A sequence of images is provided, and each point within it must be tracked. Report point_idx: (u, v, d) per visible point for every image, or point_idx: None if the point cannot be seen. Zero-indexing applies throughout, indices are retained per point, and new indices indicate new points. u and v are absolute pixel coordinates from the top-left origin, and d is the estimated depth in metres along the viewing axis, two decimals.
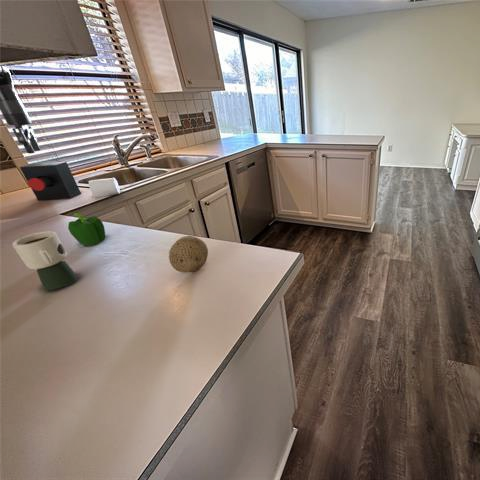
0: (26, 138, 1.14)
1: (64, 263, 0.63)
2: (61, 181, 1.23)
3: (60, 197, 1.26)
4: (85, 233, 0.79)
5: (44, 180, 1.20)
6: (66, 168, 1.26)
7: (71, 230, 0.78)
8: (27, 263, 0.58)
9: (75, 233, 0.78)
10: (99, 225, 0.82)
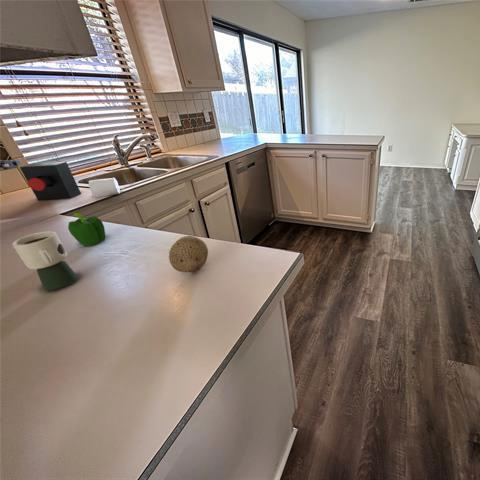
0: None
1: (64, 263, 0.63)
2: (61, 181, 1.23)
3: (60, 197, 1.26)
4: (85, 233, 0.79)
5: (44, 180, 1.20)
6: (66, 168, 1.26)
7: (71, 230, 0.78)
8: (27, 263, 0.58)
9: (75, 233, 0.78)
10: (99, 225, 0.82)
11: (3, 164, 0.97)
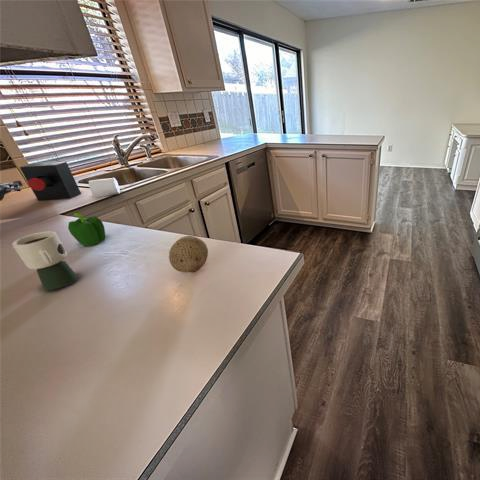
0: None
1: (64, 263, 0.63)
2: (61, 181, 1.23)
3: (60, 197, 1.26)
4: (85, 233, 0.79)
5: (44, 180, 1.20)
6: (66, 168, 1.26)
7: (71, 230, 0.78)
8: (27, 263, 0.58)
9: (75, 233, 0.78)
10: (99, 225, 0.82)
11: (18, 186, 1.02)
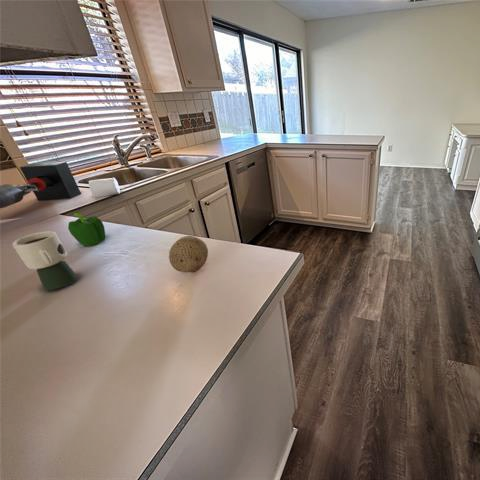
0: None
1: (64, 263, 0.63)
2: (61, 181, 1.23)
3: (60, 197, 1.26)
4: (85, 233, 0.79)
5: (44, 180, 1.20)
6: (66, 168, 1.26)
7: (71, 230, 0.78)
8: (27, 263, 0.58)
9: (75, 233, 0.78)
10: (99, 225, 0.82)
11: (35, 188, 1.10)
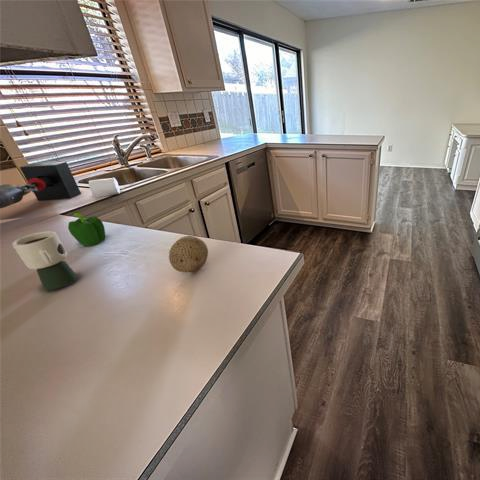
0: None
1: (64, 263, 0.63)
2: (61, 181, 1.23)
3: (60, 197, 1.26)
4: (85, 233, 0.79)
5: (44, 180, 1.20)
6: (66, 168, 1.26)
7: (71, 230, 0.78)
8: (27, 263, 0.58)
9: (75, 233, 0.78)
10: (99, 225, 0.82)
11: (35, 188, 1.10)
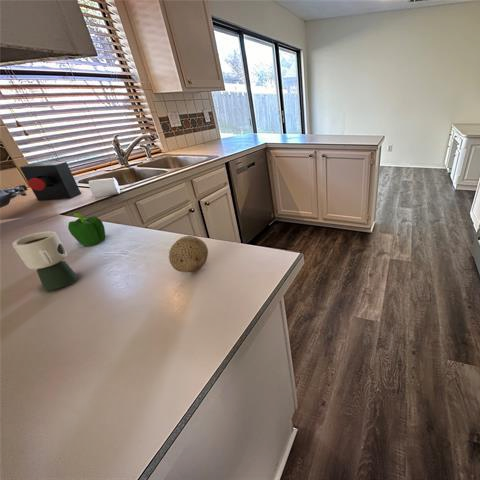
0: None
1: (64, 263, 0.63)
2: (61, 181, 1.23)
3: (60, 197, 1.26)
4: (85, 233, 0.79)
5: (44, 180, 1.20)
6: (66, 168, 1.26)
7: (71, 230, 0.78)
8: (27, 263, 0.58)
9: (75, 233, 0.78)
10: (99, 225, 0.82)
11: (23, 191, 1.04)
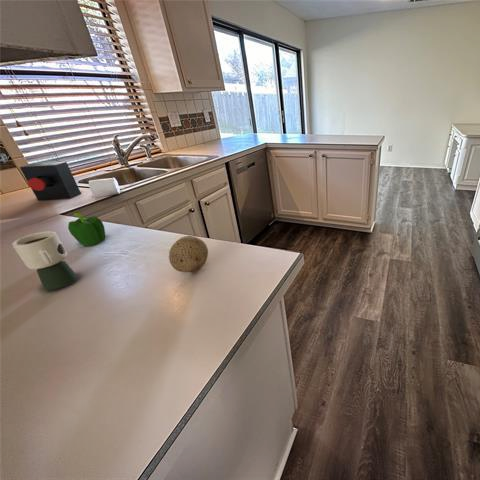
0: None
1: (64, 263, 0.63)
2: (61, 181, 1.23)
3: (60, 197, 1.26)
4: (85, 233, 0.79)
5: (44, 180, 1.20)
6: (66, 168, 1.26)
7: (71, 230, 0.78)
8: (27, 263, 0.58)
9: (75, 233, 0.78)
10: (99, 225, 0.82)
11: (2, 158, 0.98)
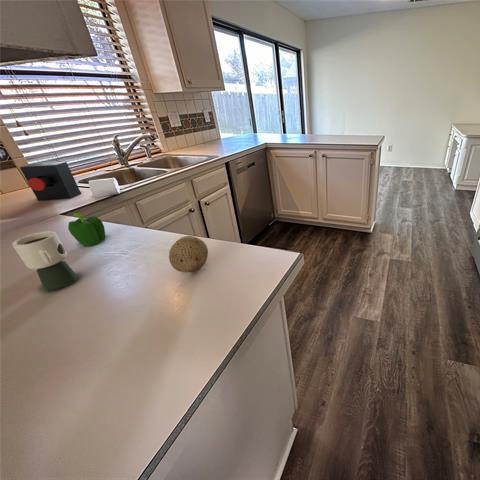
0: None
1: (64, 263, 0.63)
2: (61, 181, 1.23)
3: (60, 197, 1.26)
4: (85, 233, 0.79)
5: (44, 180, 1.20)
6: (66, 168, 1.26)
7: (71, 230, 0.78)
8: (27, 263, 0.58)
9: (75, 233, 0.78)
10: (99, 225, 0.82)
11: None
